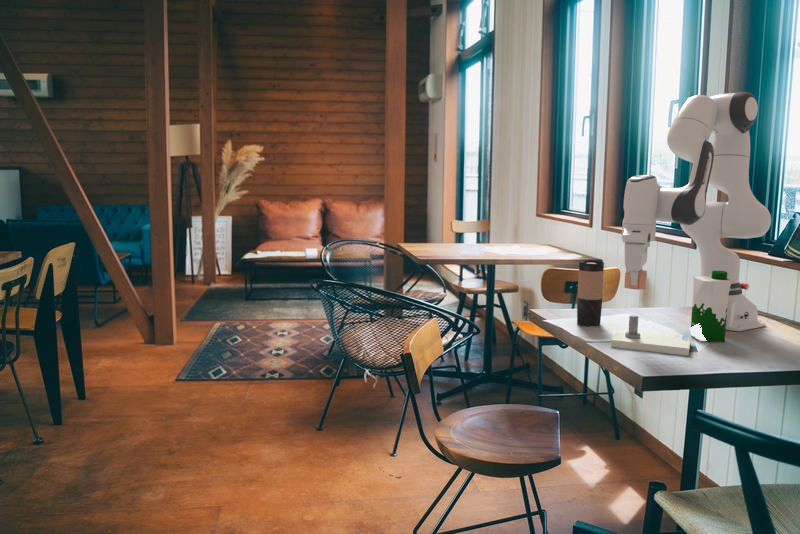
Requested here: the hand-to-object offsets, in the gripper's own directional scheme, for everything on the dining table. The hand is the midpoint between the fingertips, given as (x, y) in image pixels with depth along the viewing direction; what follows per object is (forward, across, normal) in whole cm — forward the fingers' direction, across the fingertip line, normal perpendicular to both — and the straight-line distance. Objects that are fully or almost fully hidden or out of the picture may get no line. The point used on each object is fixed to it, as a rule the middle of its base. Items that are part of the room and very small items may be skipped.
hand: (635, 283), depth 190 cm
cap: (+1, 0, 0) cm, 1 cm away
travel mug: (+18, -19, -15) cm, 30 cm away
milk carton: (+18, -16, +19) cm, 31 cm away
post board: (+18, 0, +5) cm, 18 cm away
